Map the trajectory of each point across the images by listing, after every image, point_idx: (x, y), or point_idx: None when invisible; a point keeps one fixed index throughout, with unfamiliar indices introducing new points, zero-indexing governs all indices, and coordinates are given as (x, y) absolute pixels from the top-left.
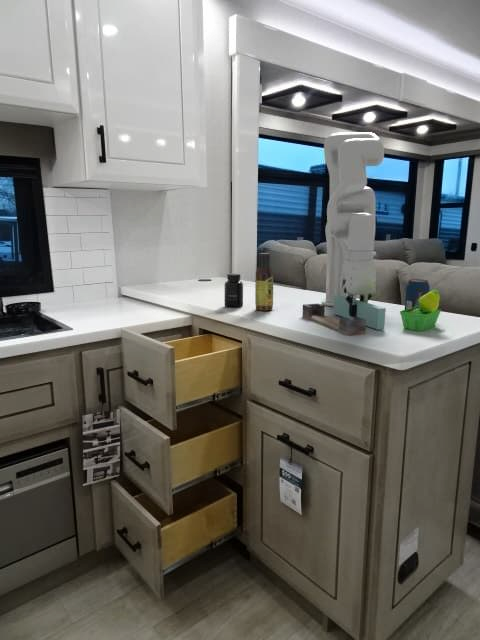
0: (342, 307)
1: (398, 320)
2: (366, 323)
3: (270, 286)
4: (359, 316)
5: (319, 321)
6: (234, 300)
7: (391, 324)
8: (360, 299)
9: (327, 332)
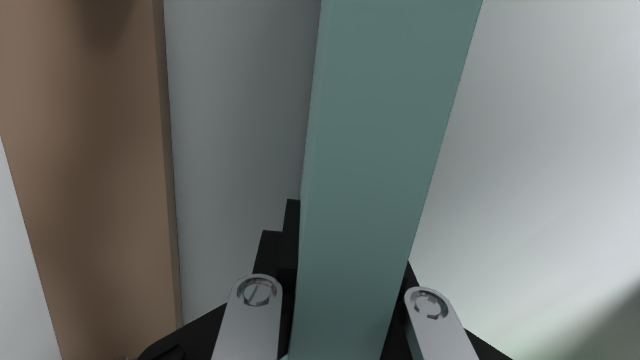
0: (318, 59)
1: (572, 288)
2: None
3: None
4: None
5: (8, 156)
6: None
7: None
8: (406, 332)
9: (6, 339)
